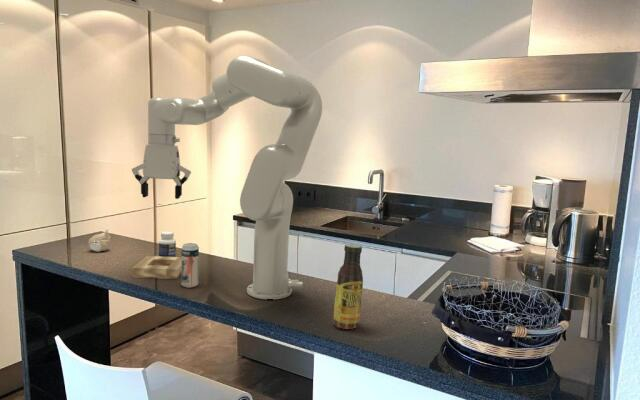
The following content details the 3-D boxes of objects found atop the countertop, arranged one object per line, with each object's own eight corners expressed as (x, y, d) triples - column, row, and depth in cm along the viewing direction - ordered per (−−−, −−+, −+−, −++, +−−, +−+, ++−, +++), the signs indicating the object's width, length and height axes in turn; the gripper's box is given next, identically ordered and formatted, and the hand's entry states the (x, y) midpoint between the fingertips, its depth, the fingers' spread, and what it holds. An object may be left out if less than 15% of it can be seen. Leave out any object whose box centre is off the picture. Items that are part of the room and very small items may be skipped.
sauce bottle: (339, 332, 109) (345, 249, 106) (328, 322, 115) (333, 242, 112) (364, 329, 112) (370, 247, 109) (352, 319, 117) (357, 241, 114)
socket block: (187, 266, 153) (187, 257, 152) (176, 279, 140) (177, 269, 139) (147, 264, 152) (147, 255, 152) (132, 277, 139) (132, 267, 139)
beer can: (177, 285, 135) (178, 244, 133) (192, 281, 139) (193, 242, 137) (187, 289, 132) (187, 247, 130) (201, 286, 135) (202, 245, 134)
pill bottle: (170, 264, 154) (170, 235, 153) (155, 262, 155) (155, 233, 154) (178, 260, 159) (178, 231, 158) (164, 258, 161) (164, 230, 159)
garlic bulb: (98, 254, 161) (97, 231, 160) (85, 251, 164) (84, 229, 162) (113, 250, 167) (113, 228, 166) (101, 247, 170) (100, 225, 168)
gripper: (193, 141, 144) (193, 197, 147) (136, 138, 143) (136, 194, 146) (187, 142, 137) (187, 200, 139) (127, 139, 136) (127, 198, 139)
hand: (161, 197), depth 143 cm, fingers open, 9 cm apart
